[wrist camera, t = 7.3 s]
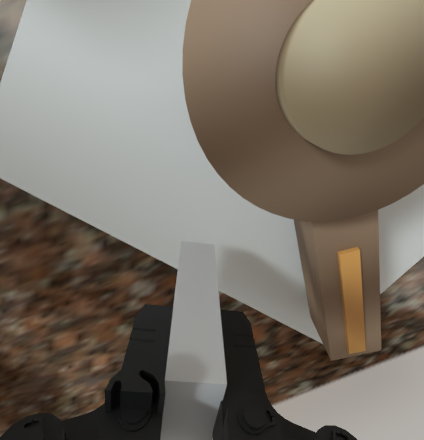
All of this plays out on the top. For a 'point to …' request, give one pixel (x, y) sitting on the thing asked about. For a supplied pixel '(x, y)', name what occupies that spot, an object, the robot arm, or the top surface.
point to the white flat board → (151, 152)
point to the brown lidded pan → (315, 132)
